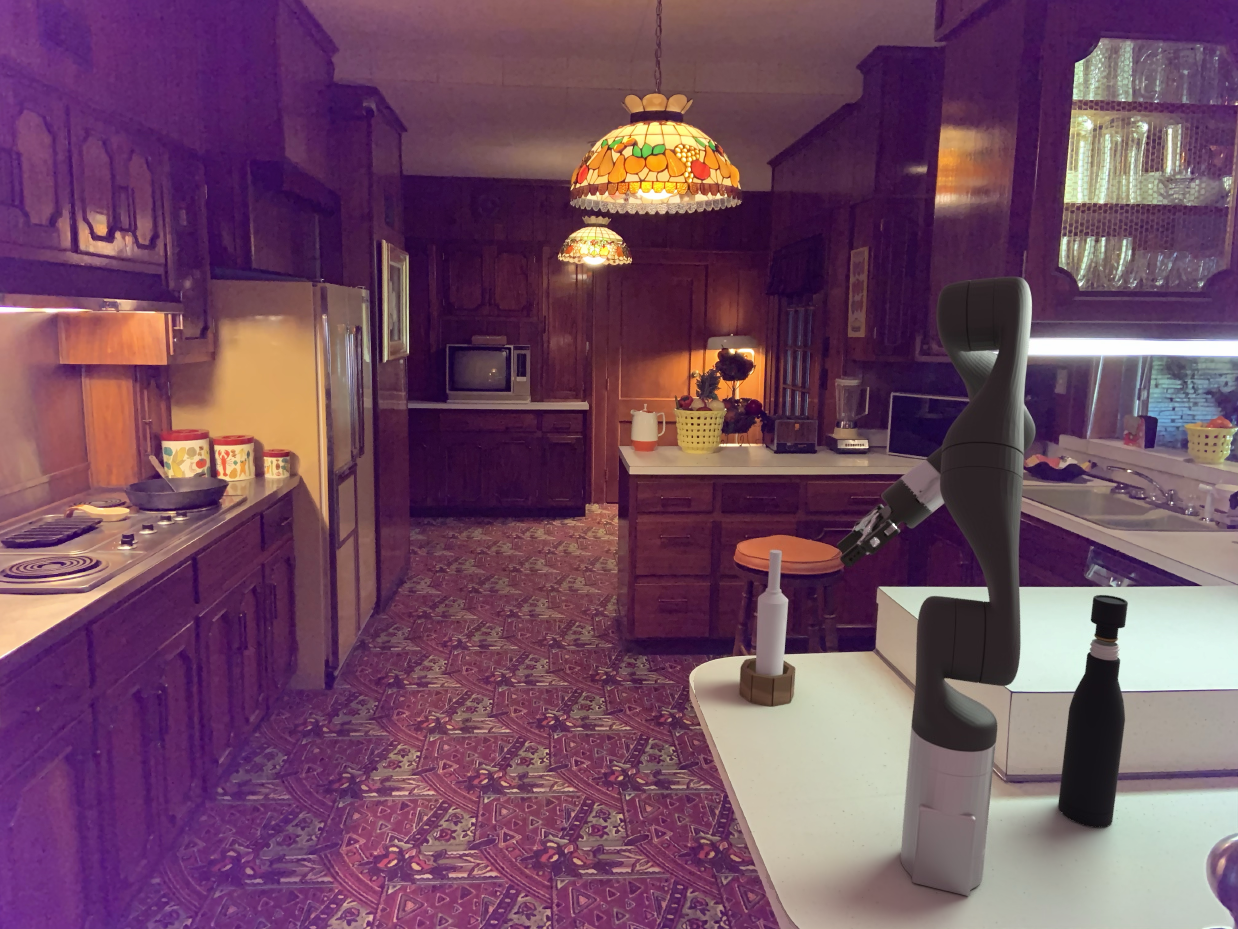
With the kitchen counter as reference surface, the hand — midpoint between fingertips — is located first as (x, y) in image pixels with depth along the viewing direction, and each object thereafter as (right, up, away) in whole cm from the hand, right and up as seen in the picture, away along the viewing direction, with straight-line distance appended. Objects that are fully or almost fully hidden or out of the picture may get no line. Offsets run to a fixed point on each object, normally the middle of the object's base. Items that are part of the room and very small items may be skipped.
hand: (841, 556), depth 141 cm
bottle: (-11, -24, +6) cm, 27 cm away
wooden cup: (-12, -25, +6) cm, 28 cm away
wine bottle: (+25, -32, -29) cm, 50 cm away
